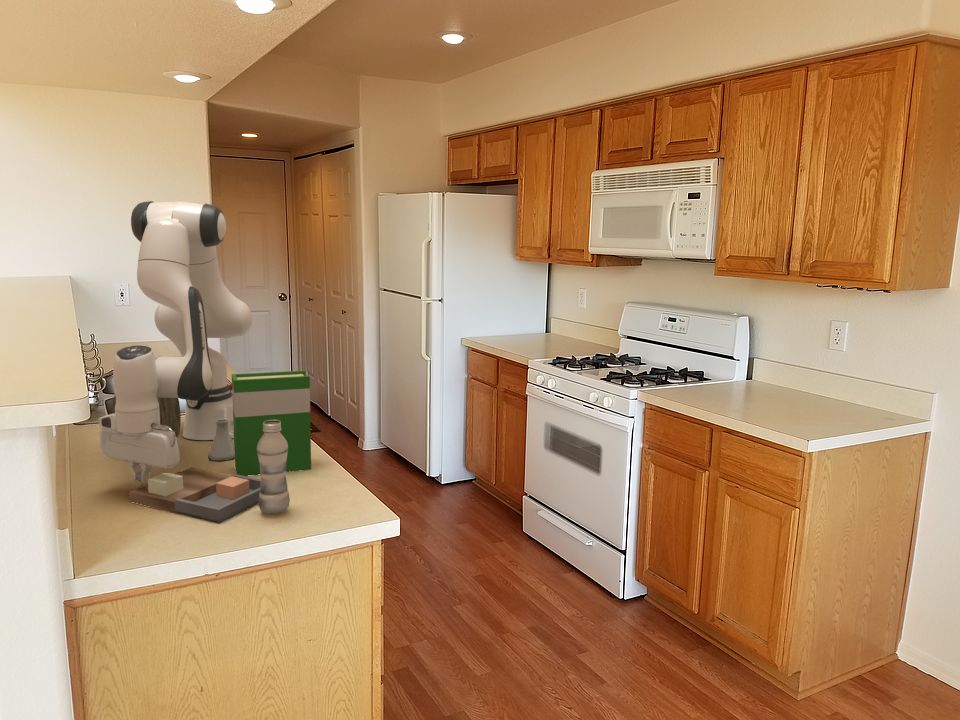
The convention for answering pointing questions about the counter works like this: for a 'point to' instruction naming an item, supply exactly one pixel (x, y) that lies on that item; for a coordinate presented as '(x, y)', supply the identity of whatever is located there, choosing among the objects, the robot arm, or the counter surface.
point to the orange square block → (232, 487)
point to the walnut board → (194, 488)
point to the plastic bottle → (273, 469)
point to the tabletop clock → (166, 413)
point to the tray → (220, 504)
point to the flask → (222, 443)
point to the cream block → (165, 484)
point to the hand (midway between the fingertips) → (141, 480)
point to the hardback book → (271, 417)
